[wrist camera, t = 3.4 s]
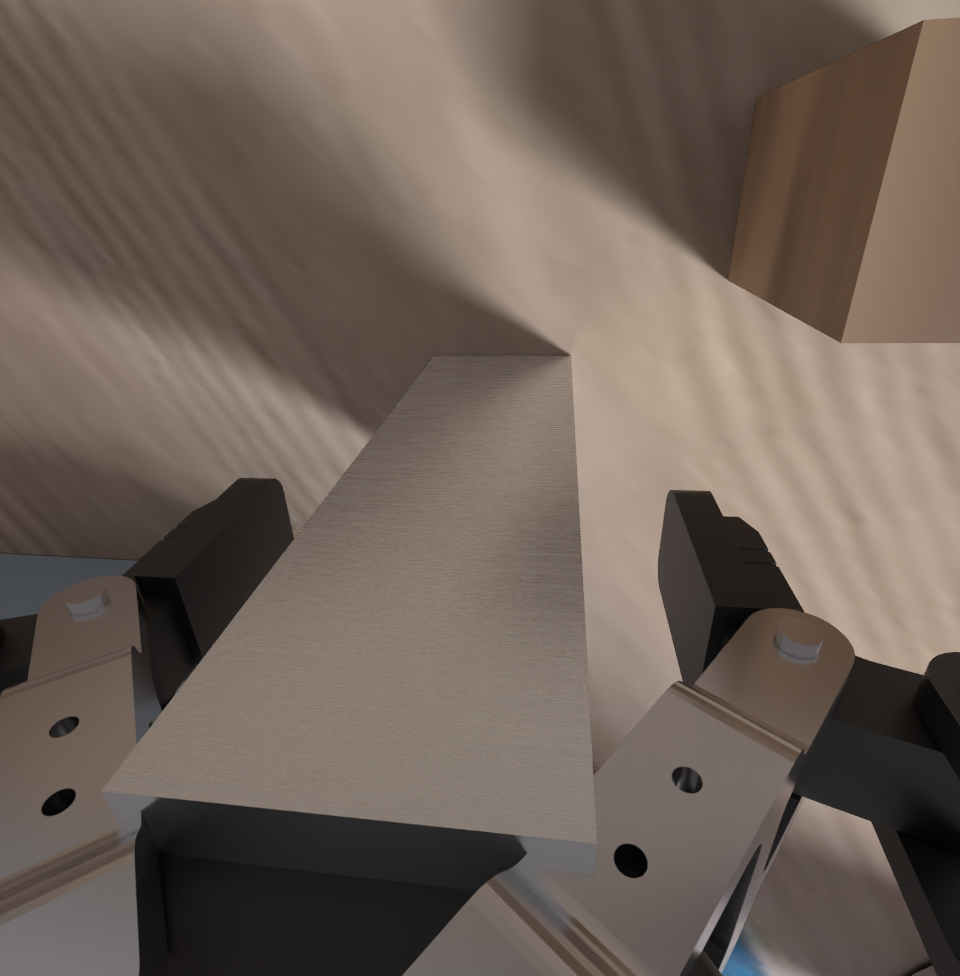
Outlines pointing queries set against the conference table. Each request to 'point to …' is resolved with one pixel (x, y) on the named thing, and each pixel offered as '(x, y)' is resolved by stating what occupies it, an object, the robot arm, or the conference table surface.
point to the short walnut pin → (860, 193)
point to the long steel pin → (402, 658)
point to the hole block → (47, 579)
